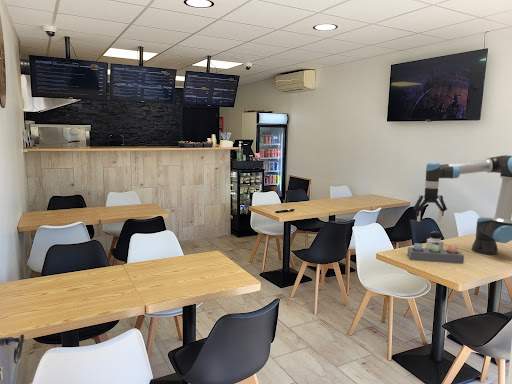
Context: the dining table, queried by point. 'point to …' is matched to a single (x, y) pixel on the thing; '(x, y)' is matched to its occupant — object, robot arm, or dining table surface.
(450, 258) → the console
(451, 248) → the terracotta button
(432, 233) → the container
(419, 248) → the slate button
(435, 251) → the sage button
